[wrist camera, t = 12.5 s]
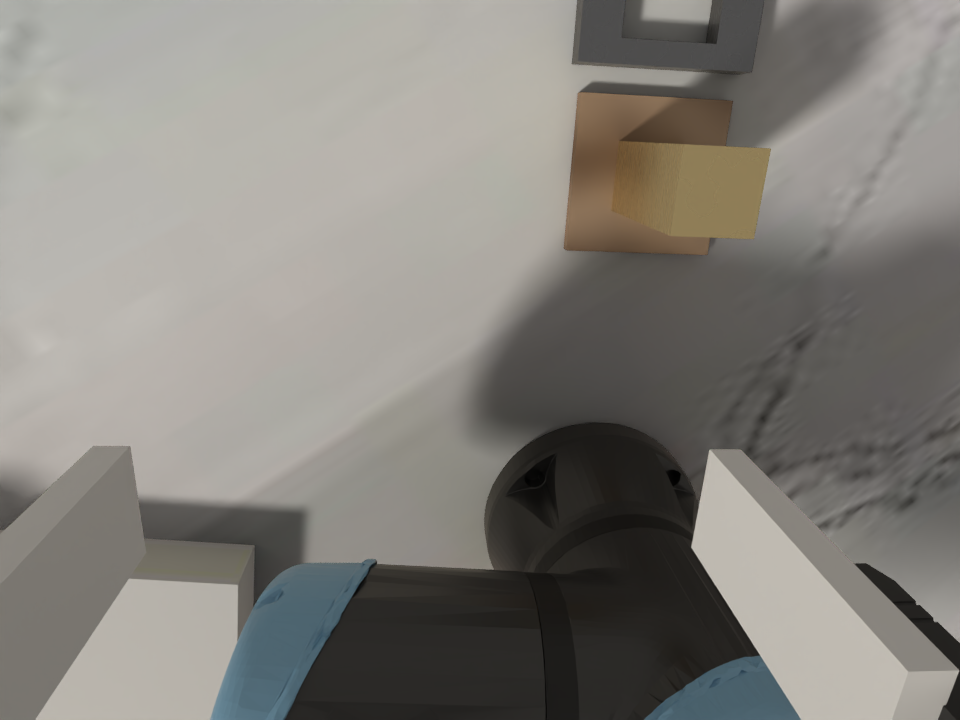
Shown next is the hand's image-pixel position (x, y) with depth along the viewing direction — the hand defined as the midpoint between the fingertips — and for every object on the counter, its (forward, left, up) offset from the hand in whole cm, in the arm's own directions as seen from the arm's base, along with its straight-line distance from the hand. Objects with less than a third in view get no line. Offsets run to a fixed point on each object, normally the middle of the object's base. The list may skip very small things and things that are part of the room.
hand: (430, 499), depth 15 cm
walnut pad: (+6, -13, -27) cm, 30 cm away
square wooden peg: (+6, -13, -26) cm, 30 cm away
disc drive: (-31, +21, -27) cm, 47 cm away
